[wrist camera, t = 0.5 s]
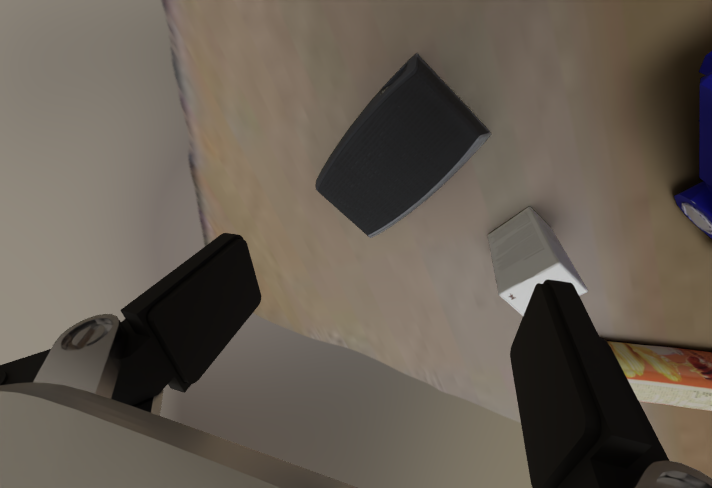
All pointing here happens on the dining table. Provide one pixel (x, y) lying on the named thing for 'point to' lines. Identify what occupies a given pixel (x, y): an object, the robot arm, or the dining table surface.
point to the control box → (702, 160)
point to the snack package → (667, 374)
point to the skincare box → (528, 259)
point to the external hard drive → (400, 149)
